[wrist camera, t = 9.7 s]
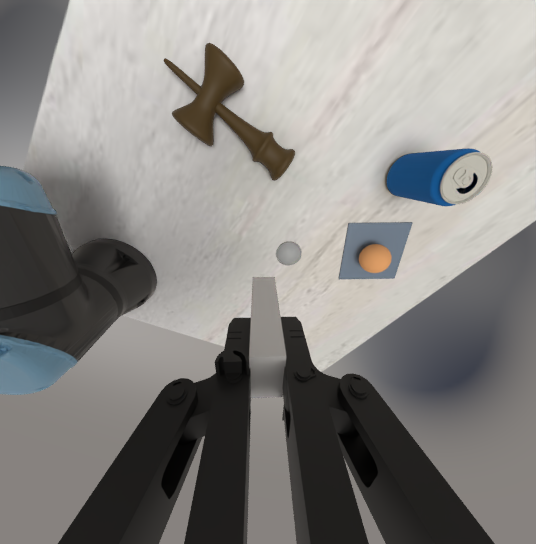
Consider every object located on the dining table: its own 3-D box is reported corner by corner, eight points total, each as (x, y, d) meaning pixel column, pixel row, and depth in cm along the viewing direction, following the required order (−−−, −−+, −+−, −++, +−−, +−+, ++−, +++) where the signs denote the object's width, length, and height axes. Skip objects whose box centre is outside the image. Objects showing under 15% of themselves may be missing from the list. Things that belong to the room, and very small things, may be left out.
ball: (358, 263, 43) (353, 273, 39) (364, 238, 41) (359, 246, 36) (388, 269, 41) (385, 281, 36) (396, 243, 38) (394, 252, 34)
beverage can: (399, 203, 37) (455, 218, 26) (376, 179, 35) (426, 185, 24) (431, 171, 34) (506, 173, 24) (408, 144, 32) (479, 133, 22)
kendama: (266, 192, 36) (157, 104, 30) (302, 142, 33) (189, 30, 26) (269, 197, 31) (136, 90, 24) (312, 136, 27) (172, -4, 21)
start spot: (276, 265, 42) (276, 265, 42) (276, 241, 39) (276, 242, 39) (300, 264, 42) (300, 265, 42) (302, 241, 40) (302, 241, 39)
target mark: (338, 278, 44) (339, 279, 43) (348, 223, 38) (349, 223, 38) (393, 277, 44) (394, 278, 44) (411, 222, 38) (412, 222, 38)
